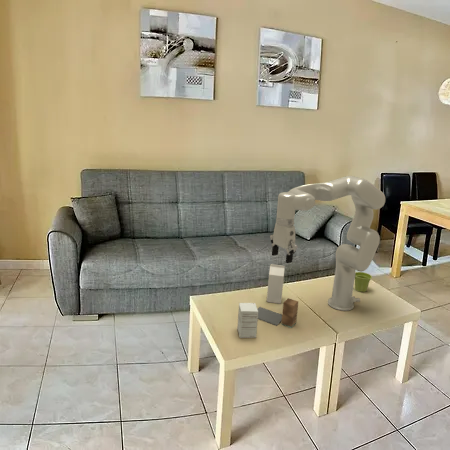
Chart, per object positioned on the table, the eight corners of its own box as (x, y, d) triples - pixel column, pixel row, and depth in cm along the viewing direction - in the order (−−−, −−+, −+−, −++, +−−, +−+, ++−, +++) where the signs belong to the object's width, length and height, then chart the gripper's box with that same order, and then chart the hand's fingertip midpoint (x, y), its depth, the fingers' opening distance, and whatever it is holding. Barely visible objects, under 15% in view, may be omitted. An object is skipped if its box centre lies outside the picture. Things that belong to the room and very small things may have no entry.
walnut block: (295, 323, 176) (298, 301, 173) (291, 328, 172) (293, 305, 168) (285, 319, 178) (288, 298, 175) (281, 324, 174) (283, 302, 171)
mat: (286, 316, 181) (286, 315, 181) (276, 325, 173) (276, 324, 172) (259, 307, 188) (259, 306, 188) (249, 316, 180) (249, 315, 180)
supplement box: (236, 328, 169) (238, 302, 165) (253, 328, 170) (255, 302, 166) (238, 338, 162) (240, 311, 158) (256, 338, 163) (258, 311, 159)
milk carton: (280, 304, 193) (284, 268, 187) (266, 302, 194) (269, 266, 189) (281, 297, 199) (285, 263, 194) (267, 295, 201) (270, 261, 195)
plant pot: (348, 289, 213) (350, 274, 211) (357, 284, 220) (359, 270, 217) (364, 295, 207) (366, 280, 204) (372, 290, 213) (375, 276, 211)
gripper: (305, 225, 161) (301, 264, 166) (279, 215, 175) (276, 251, 180) (291, 228, 157) (287, 267, 162) (265, 217, 171) (263, 253, 176)
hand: (281, 258), depth 171 cm, fingers open, 9 cm apart
